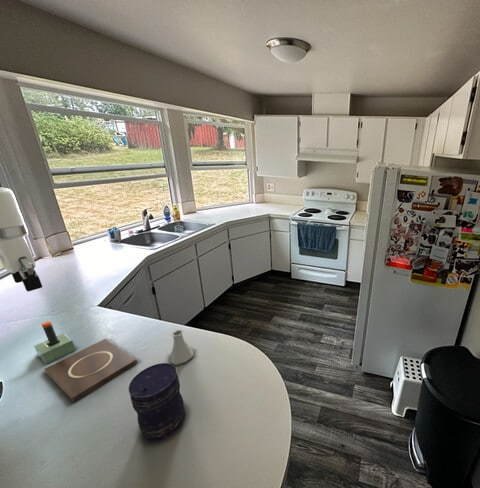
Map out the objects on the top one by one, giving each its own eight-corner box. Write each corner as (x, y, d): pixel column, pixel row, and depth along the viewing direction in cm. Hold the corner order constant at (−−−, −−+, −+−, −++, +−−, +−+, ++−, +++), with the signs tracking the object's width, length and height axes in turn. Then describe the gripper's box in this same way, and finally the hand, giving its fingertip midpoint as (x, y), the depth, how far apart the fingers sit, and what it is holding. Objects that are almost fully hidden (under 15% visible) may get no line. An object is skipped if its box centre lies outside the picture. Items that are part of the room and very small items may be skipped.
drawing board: (73, 402, 69) (71, 397, 69) (45, 372, 78) (43, 368, 77) (137, 362, 83) (136, 358, 82) (107, 341, 91) (105, 337, 91)
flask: (189, 345, 90) (185, 323, 87) (196, 357, 86) (192, 333, 82) (167, 356, 86) (161, 332, 82) (173, 368, 81) (167, 343, 77)
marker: (55, 355, 84) (42, 325, 80) (52, 352, 85) (40, 323, 81) (63, 351, 86) (51, 322, 82) (61, 348, 87) (49, 320, 83)
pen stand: (46, 363, 81) (42, 354, 80) (38, 355, 84) (33, 345, 83) (75, 349, 87) (71, 340, 86) (66, 342, 90) (63, 333, 89)
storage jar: (158, 403, 70) (147, 361, 65) (193, 405, 70) (185, 363, 64) (131, 441, 60) (116, 396, 55) (171, 444, 60) (160, 399, 55)
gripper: (-23, 230, 72) (1, 282, 77) (-5, 241, 64) (20, 298, 70) (16, 224, 78) (36, 273, 84) (37, 233, 70) (57, 287, 76)
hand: (28, 285), depth 77 cm, fingers open, 9 cm apart
